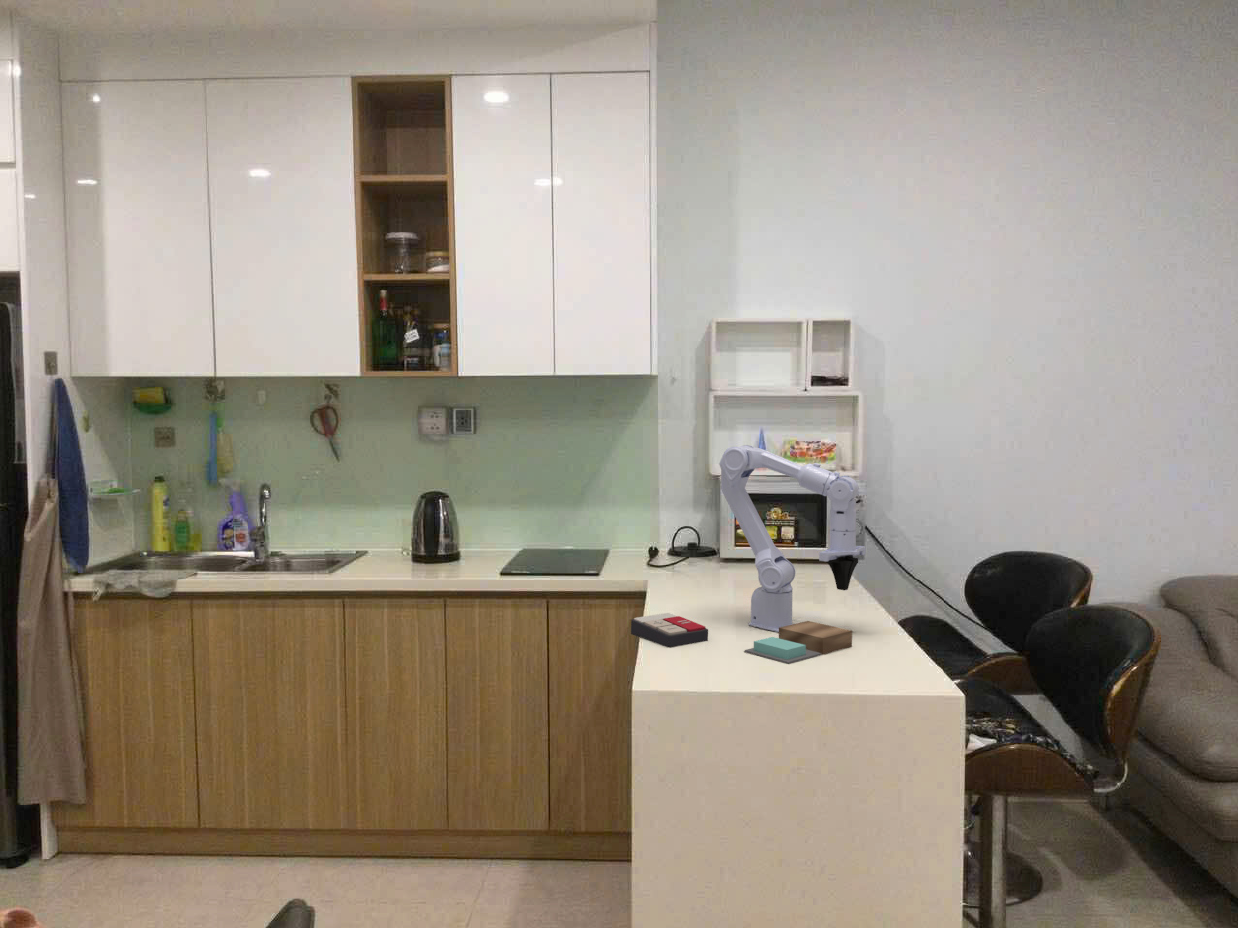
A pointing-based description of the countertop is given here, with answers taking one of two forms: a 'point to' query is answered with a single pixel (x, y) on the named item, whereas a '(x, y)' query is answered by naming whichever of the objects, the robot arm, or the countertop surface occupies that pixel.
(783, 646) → the block
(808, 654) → the mat
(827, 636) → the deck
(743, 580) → the countertop surface
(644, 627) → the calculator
